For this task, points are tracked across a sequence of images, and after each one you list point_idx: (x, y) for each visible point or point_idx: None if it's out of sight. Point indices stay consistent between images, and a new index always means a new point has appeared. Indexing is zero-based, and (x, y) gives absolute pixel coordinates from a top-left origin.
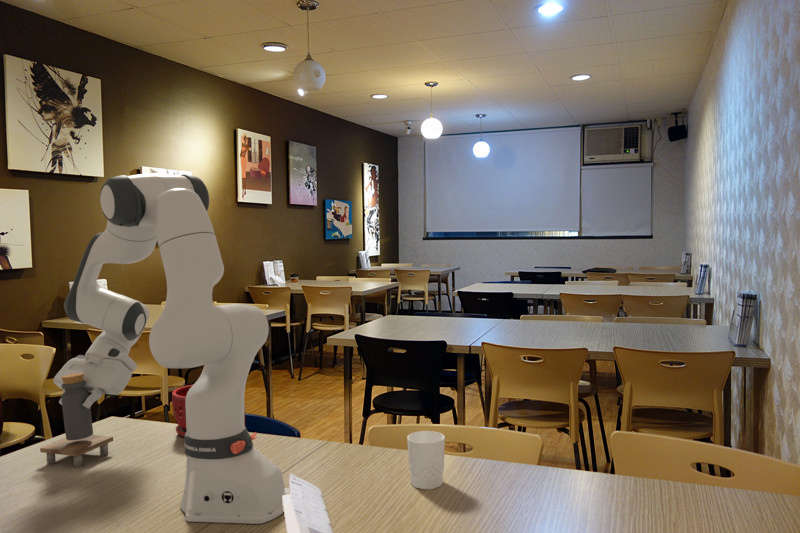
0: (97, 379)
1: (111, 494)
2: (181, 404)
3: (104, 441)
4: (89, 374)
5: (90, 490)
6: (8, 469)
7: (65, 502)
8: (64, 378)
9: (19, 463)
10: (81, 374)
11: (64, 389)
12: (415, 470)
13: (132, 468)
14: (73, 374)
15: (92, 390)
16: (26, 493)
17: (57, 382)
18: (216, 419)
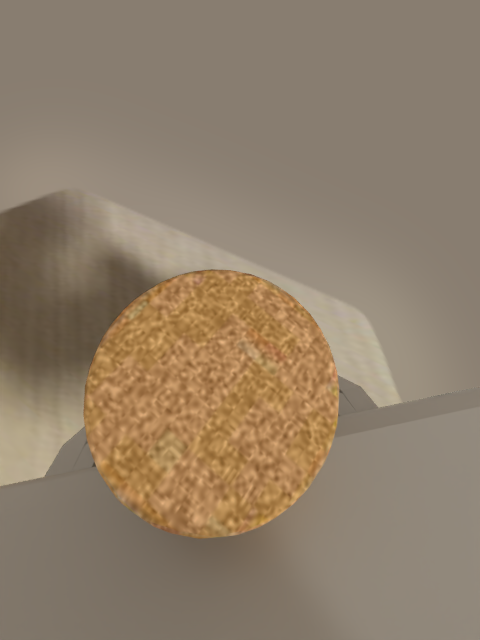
0: (4, 573)
1: (8, 305)
2: None
3: None
4: (176, 625)
5: (59, 298)
6: (288, 281)
7: (60, 254)
8: (198, 275)
9: (303, 305)
10: (93, 448)
11: (345, 387)
12: None
13: (66, 403)
14: (247, 410)
15: None
16: (152, 245)
17: (462, 390)
18: None
